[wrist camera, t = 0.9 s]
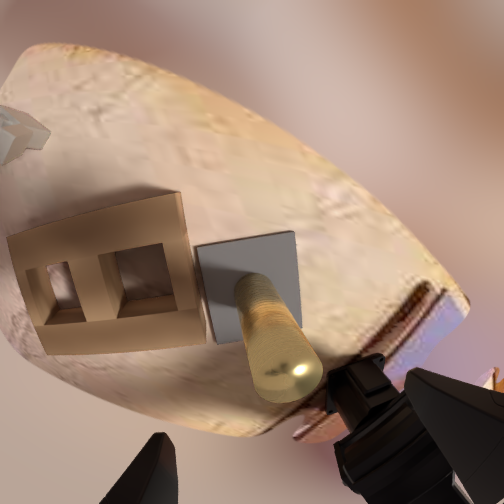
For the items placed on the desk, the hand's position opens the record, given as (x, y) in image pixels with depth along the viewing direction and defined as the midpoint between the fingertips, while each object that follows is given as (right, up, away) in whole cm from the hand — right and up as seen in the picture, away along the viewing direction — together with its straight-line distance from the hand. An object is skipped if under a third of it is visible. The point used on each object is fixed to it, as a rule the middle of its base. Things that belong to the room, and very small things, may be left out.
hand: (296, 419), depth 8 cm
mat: (-1, +3, +13) cm, 13 cm away
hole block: (-13, +4, +11) cm, 17 cm away
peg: (-1, +3, +12) cm, 13 cm away
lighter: (-18, +15, +7) cm, 24 cm away
